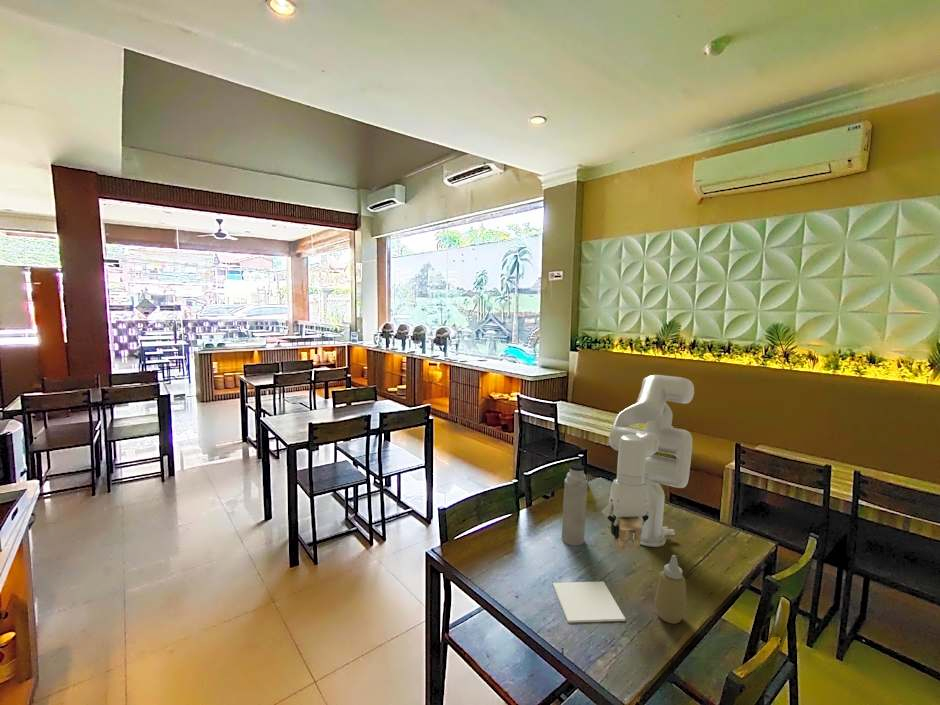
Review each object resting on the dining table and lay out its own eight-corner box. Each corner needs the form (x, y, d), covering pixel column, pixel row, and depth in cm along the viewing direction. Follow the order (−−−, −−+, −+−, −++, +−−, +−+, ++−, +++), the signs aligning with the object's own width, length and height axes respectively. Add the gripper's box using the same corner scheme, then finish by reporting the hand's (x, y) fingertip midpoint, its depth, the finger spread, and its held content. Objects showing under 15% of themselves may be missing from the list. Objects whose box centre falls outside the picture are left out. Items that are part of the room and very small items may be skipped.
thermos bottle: (560, 533, 166) (564, 461, 163) (582, 534, 166) (586, 462, 162) (562, 544, 159) (566, 469, 155) (585, 546, 158) (590, 470, 154)
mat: (603, 583, 138) (603, 581, 137) (625, 620, 122) (625, 618, 122) (552, 584, 136) (552, 582, 136) (567, 622, 120) (568, 620, 120)
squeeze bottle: (648, 607, 127) (652, 548, 125) (675, 606, 128) (680, 547, 126) (662, 628, 119) (667, 565, 117) (691, 626, 120) (697, 564, 118)
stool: (630, 538, 135) (632, 511, 134) (639, 549, 130) (642, 521, 129) (611, 538, 135) (613, 512, 134) (620, 549, 129) (621, 522, 128)
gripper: (652, 472, 134) (647, 529, 136) (596, 473, 133) (593, 530, 135) (665, 482, 127) (660, 542, 129) (606, 483, 125) (602, 543, 128)
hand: (626, 535), depth 132 cm, fingers closed on stool, 6 cm apart
